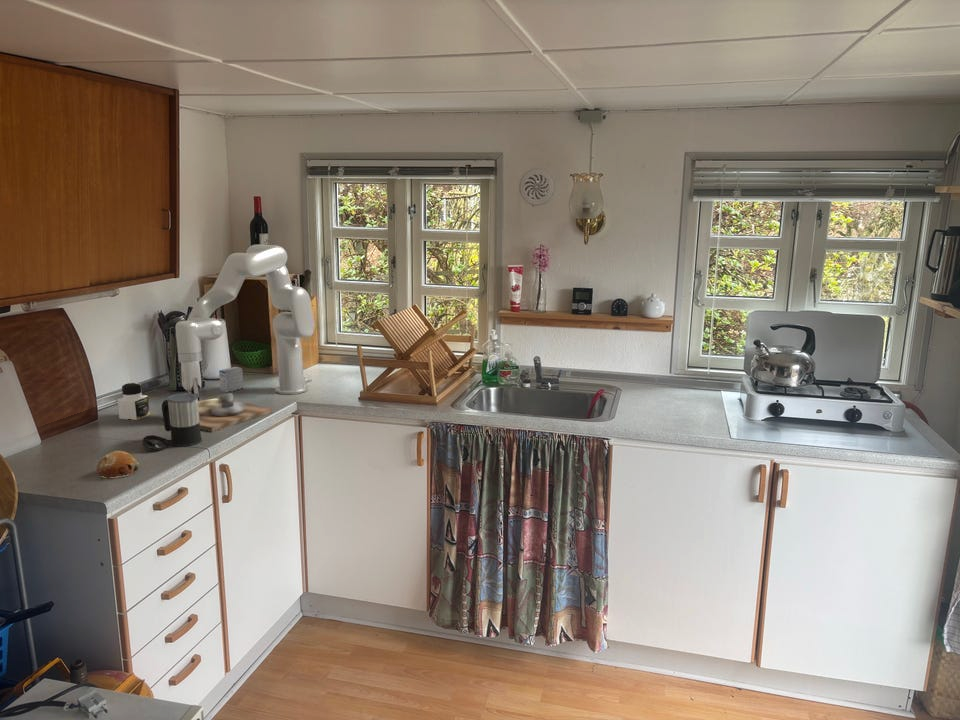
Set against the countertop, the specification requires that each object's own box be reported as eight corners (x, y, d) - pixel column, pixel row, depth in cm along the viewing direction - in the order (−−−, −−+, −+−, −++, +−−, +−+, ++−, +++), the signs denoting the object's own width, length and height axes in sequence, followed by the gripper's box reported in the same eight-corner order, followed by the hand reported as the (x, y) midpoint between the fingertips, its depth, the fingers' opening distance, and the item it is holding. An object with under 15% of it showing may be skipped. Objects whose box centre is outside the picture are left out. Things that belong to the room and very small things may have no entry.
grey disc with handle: (239, 404, 264) (238, 388, 263) (249, 412, 254) (248, 395, 253) (181, 413, 253) (179, 397, 251) (189, 422, 243) (188, 405, 242)
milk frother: (208, 438, 232) (204, 393, 229) (177, 455, 217) (173, 407, 214) (169, 435, 235) (165, 391, 232) (136, 451, 220) (131, 404, 217)
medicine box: (237, 387, 296) (235, 366, 294) (244, 388, 294) (242, 367, 292) (220, 391, 290) (218, 370, 288) (227, 392, 288) (225, 371, 286)
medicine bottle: (137, 420, 252) (133, 386, 249) (119, 419, 253) (115, 385, 251) (150, 414, 259) (146, 381, 256) (132, 413, 260) (128, 381, 257)
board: (229, 404, 271) (229, 399, 271) (271, 412, 260) (271, 407, 260) (168, 422, 250) (168, 417, 249) (211, 431, 238) (211, 426, 238)
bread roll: (124, 477, 209) (112, 452, 209) (149, 466, 206) (137, 440, 205) (97, 490, 200) (84, 464, 200) (123, 478, 197) (110, 452, 196)
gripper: (174, 354, 254) (179, 404, 258) (182, 361, 242) (187, 414, 246) (197, 351, 258) (201, 401, 262) (206, 359, 246) (210, 411, 250)
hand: (194, 407), depth 254 cm, fingers closed
